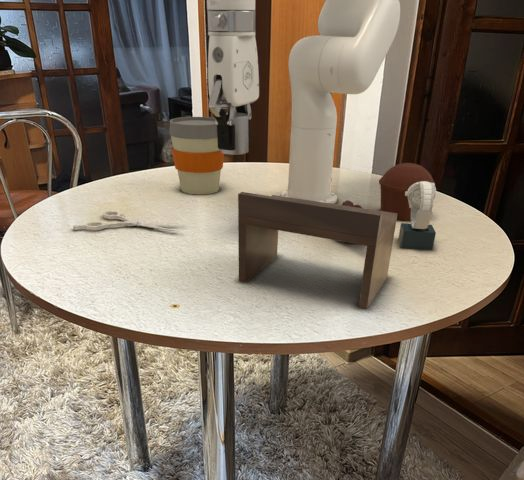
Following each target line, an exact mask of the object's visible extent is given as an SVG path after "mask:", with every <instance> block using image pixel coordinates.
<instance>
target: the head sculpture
mask: <svg viewBox="0 0 524 480" xmlns="http://www.w3.org/2000/svg"><path fill="white" fill-rule="evenodd" d="M434 183H435V182H434ZM434 183H430V182H426V181H421V182H417V183H415V184H413V185H411V186H410V187H409V189H408V191H406V192H405V196H408V201H409V208H411V211H412V212H411V220H410V223H407V222H403V223H402V222H401V223H400V227H399V234H398V238H397V241H398V244H399V246H400V247H399V248H400V249H413V250H426V251H427V250H428V251H429V250H430V251H433V248H434V244H435V239H436V234H437V232H436V230H435V228H434V226H433V224H430V223H431V220H432V215H433V207H434V201H435V199H436V196H437V188H436V183H435V184H434ZM416 213H417V214H416Z"/></svg>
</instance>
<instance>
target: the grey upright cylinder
mask: <svg viewBox="0 0 524 480" xmlns="http://www.w3.org/2000/svg"><path fill="white" fill-rule="evenodd" d="M227 113H228V112H226V114H227ZM248 120H249V119H248V114H245V113H234V114H233V124H232V125H235V150H233V151H231V150H222V149H220V151H221V153H224V155H229V156H230V155H233V156H234V155H235V156H236V155H245V154H248V153H249V145H250V144H248Z"/></svg>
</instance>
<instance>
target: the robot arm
mask: <svg viewBox="0 0 524 480" xmlns="http://www.w3.org/2000/svg"><path fill="white" fill-rule="evenodd" d="M206 13H207V15H206V16H207V18H206V19H207V36H209V37H208V38H209V39H208V52H207V53H208V54H207V56H208V57H207V82H208V95H209V101H208V109H209V110H210V112H211V114H212V116H213V118H215V124H216V125H217V141H218V149H222V150H231V151H233V150H235V125H232V124H233V114H234V113H245V114H248V145H250V144H251V119H252V110H253V109H252V108H253V106H254V102H256V101H257V100H258V99H259V97H260V74H259V57H258V46H257V40H256V0H206ZM400 19H401V3H400V0H325V1H324V3H323V6H322V8H321V10H320V13H319V16H318V19H317V31H318V33H319V35H309V36H305V37H302V38H300V39H299V40H297V41H296V42H295V44H294V45H293V46H292V48H291V50H290V52H289V56H288V76H289V83H290V92H291V93H290V94H291V117H290V139H289V157H288V159H289V161H288V181H287V182H288V183H287V189H286V190H284V191H282V192H280V196H284V197H291V198H297V199H304V200H311V201H318V202H324V203H331V204H337V201H338V196H337V194H336V193H334V192H333V191H331V189H332V181H333V170H334V169H333V168H334V159H335V158H334V156H335V146H336V136H337V125H338V112H337V107H336V105H335V101H334V99H333V97H332V94H343V95H360V94H363V93H364V92H366V91H367V90H368V89H369V88H370V87H371V85H372V84H373V81H374V80H375V78H376V76H377V74H378V72H379V70H380V68H381V66H382V65H383V62H384V61H385V58H386V57H387V55H388V52H389V51H390V48H391V46H392V44H393V42H394V40H395V38H396V35H397V33H398V30H399V25H400V22H401V21H400ZM331 93H332V94H331ZM226 110H227V112H226ZM226 113H227V114H226Z"/></svg>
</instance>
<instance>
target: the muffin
mask: <svg viewBox="0 0 524 480" xmlns="http://www.w3.org/2000/svg"><path fill="white" fill-rule="evenodd" d="M421 181H426V182H430V183H434V184H435V185H436V182H435V180H434V178H433V176H432V174H431V173H430V172H429V171H428V170H427V169H426V168H425V167H423V166H422V165H420V164H418V163H414V162H402V163H398V164H395V165H393V166H392V167H390V168H388V170H386V171H385V173H384V174H383V175H382V176H381V177H380V178H379V179H378V183H379V187H380V188H379V189H380V191H379V192H380V211H385V212H392V213H397V220H398V221H411V212H412V211H411V208H409V201H408V196H405V192H406V191H408V189H409V187H410V186H411V185H413V184H415V183H417V182H421ZM416 214H417V213H416ZM397 220H396V221H397Z"/></svg>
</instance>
